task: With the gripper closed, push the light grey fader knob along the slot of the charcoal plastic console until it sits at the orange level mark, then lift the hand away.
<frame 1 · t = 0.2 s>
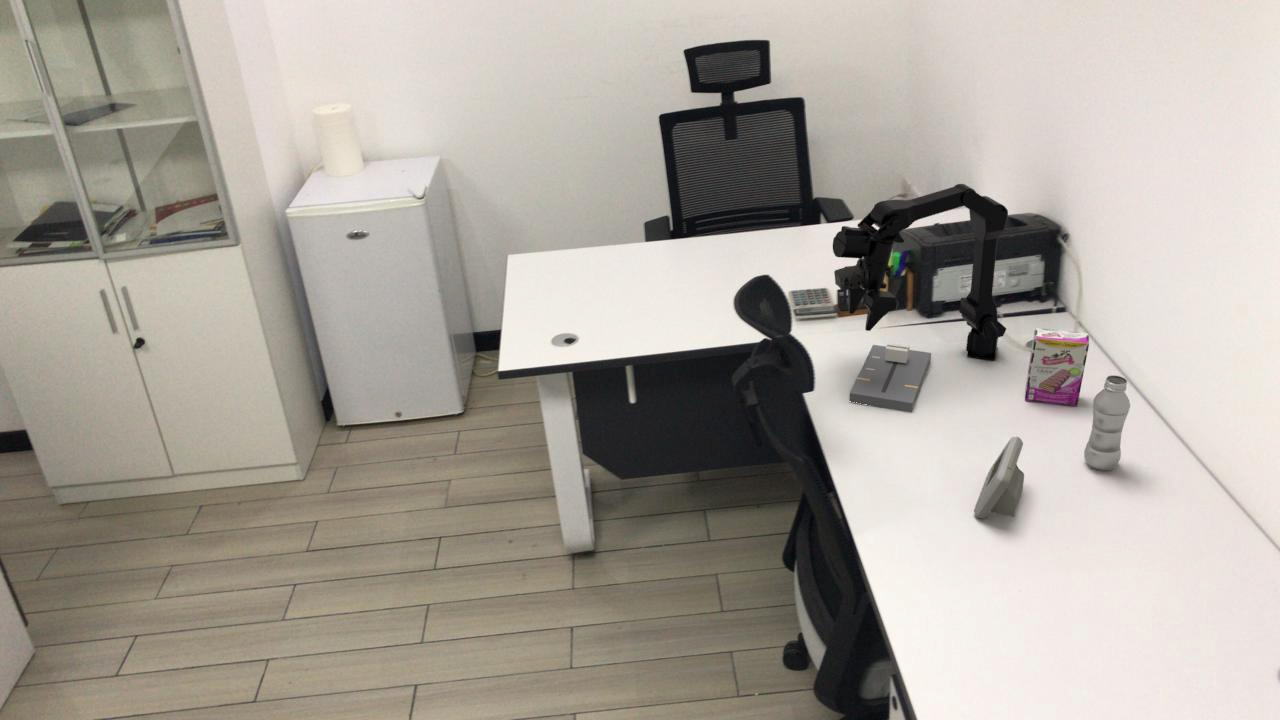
hand: (859, 321, 230), 15 cm above the table, tool pointing down, fingers open, 9 cm apart
fader knob: (897, 352, 237), point 5 cm above the table, slide at -6.0 cm
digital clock: (995, 499, 195), on the table
console: (891, 381, 235), on the table
candy bar box: (1050, 400, 224), on the table
plastic bottle: (1099, 465, 202), on the table
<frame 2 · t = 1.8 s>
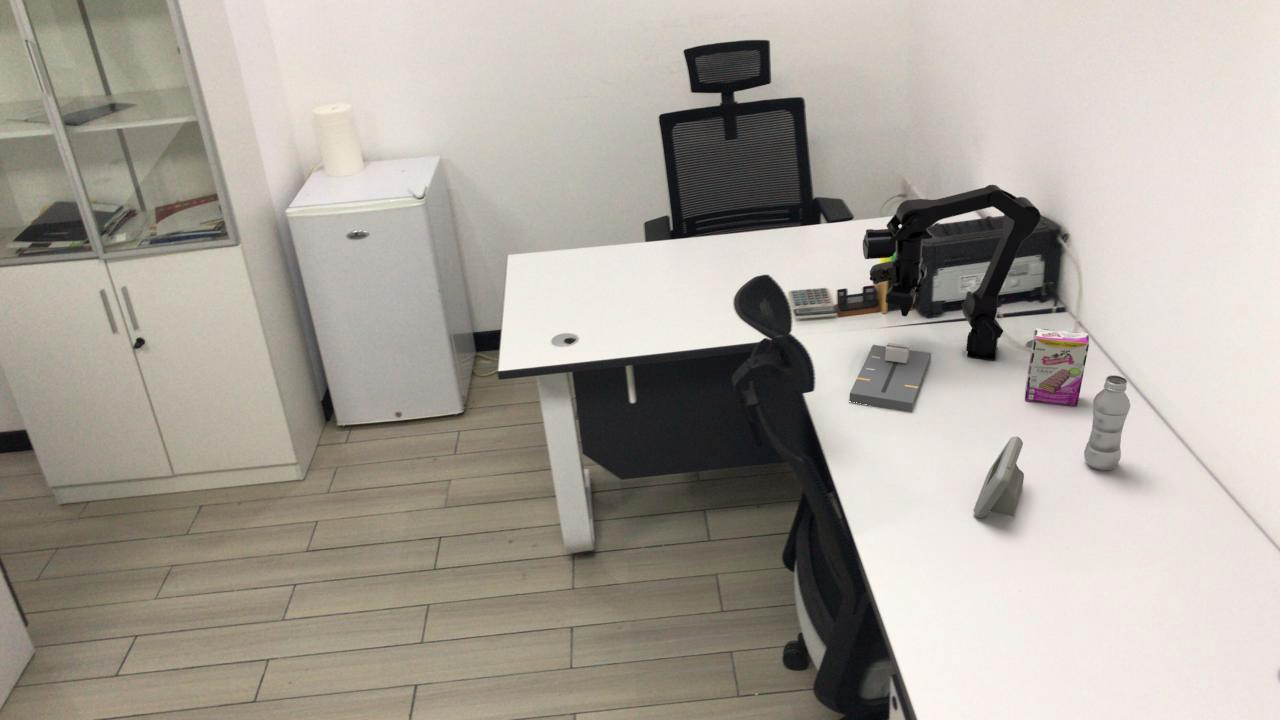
hand: (904, 315, 239), 12 cm above the table, tool pointing down, fingers closed
nothing on the table moved.
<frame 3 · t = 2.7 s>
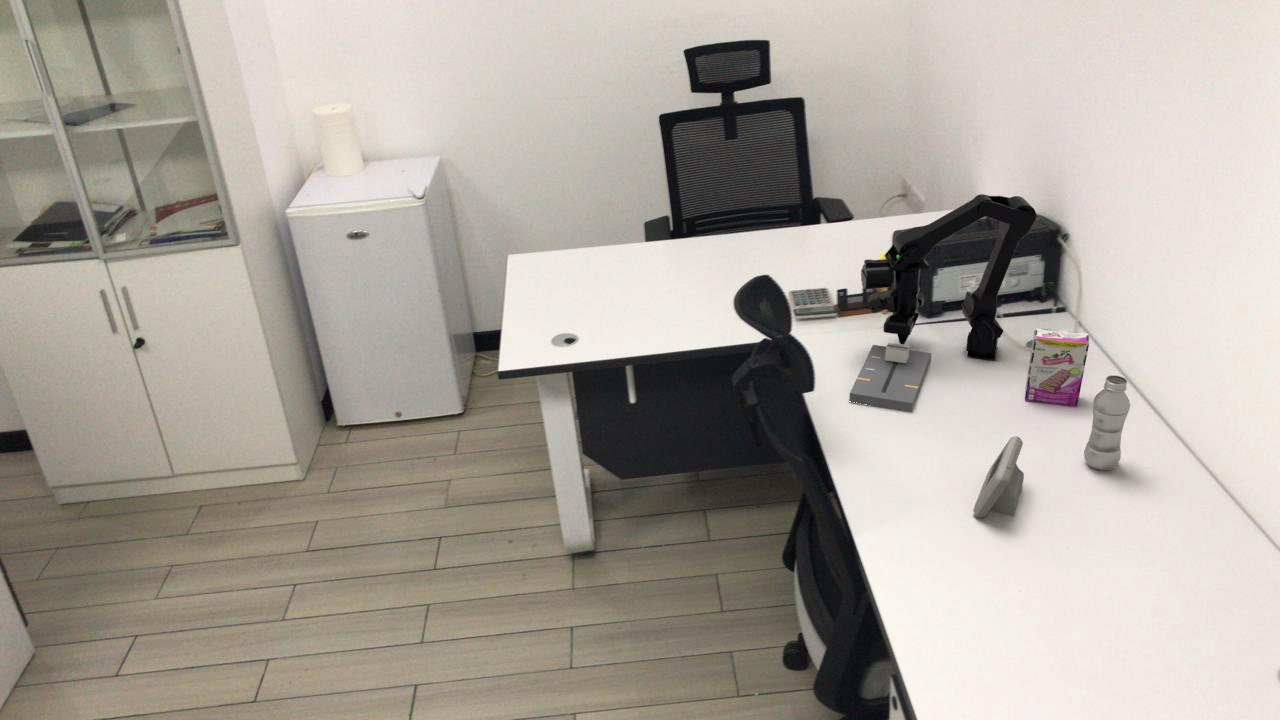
hand: (902, 343, 242), 4 cm above the table, tool pointing down, fingers closed
nothing on the table moved.
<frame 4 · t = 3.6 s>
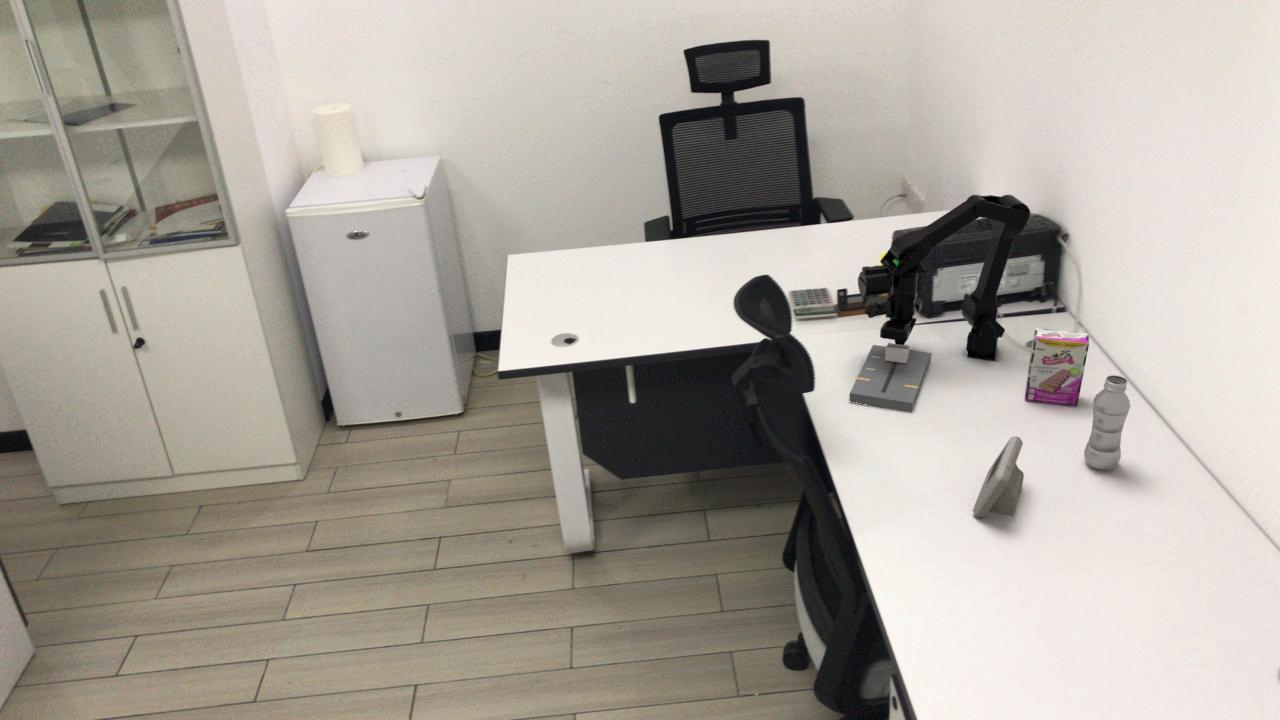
hand: (899, 349, 240), 4 cm above the table, tool pointing down, fingers closed
fader knob: (897, 352, 237), point 5 cm above the table, slide at -6.0 cm, touching gripper
everything else where it was.
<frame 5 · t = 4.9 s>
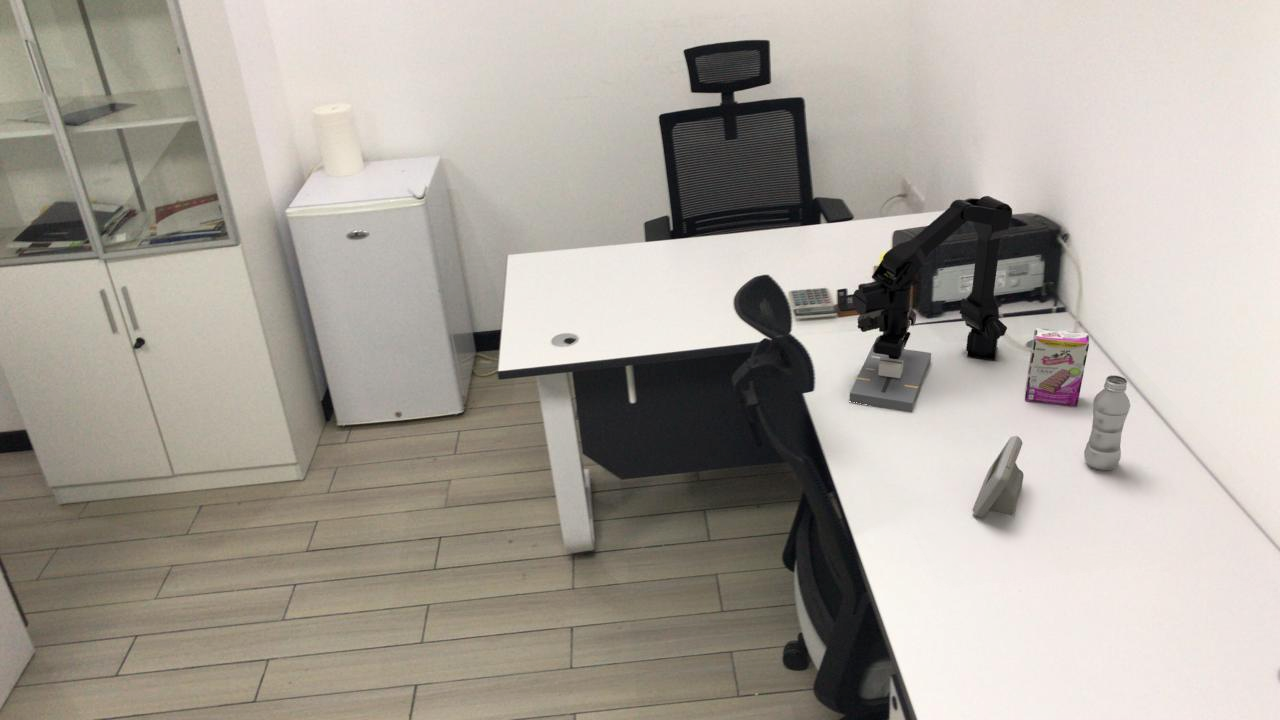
hand: (893, 363, 234), 4 cm above the table, tool pointing down, fingers closed
fader knob: (890, 367, 232), point 5 cm above the table, slide at 1.4 cm, touching gripper
everything else where it was.
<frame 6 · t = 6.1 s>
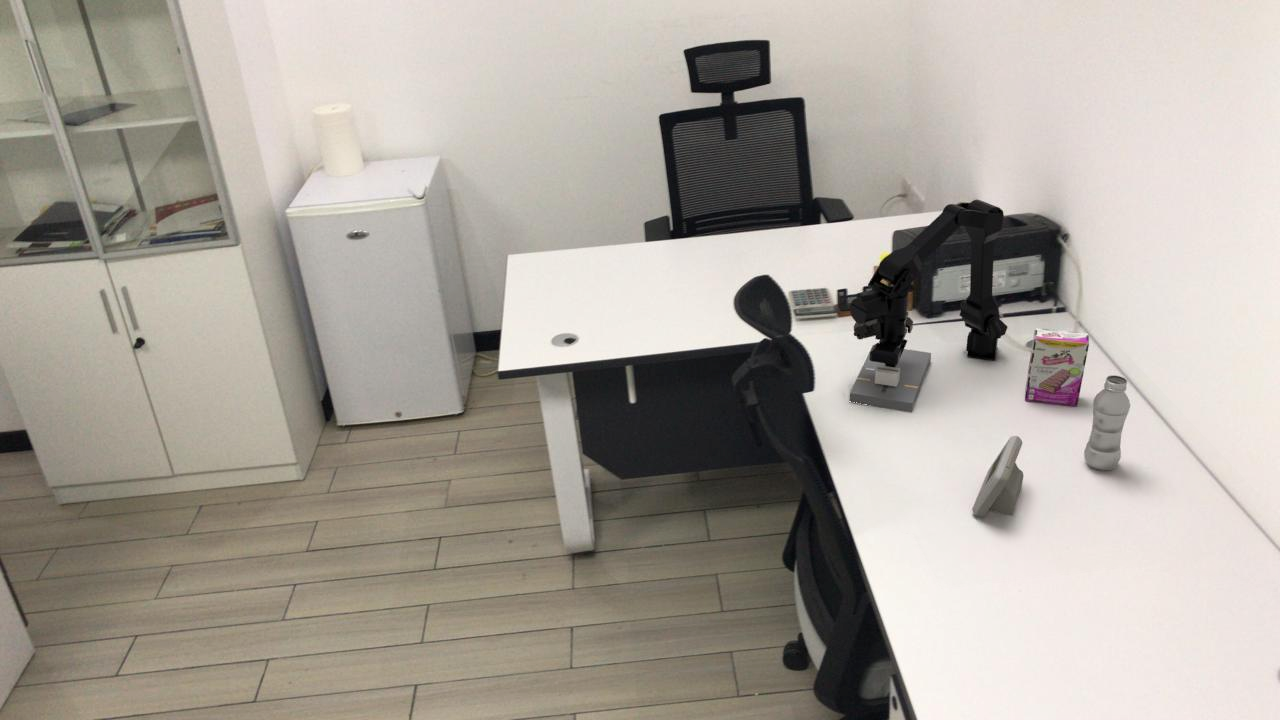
hand: (889, 371, 231), 4 cm above the table, tool pointing down, fingers closed
fader knob: (887, 375, 229), point 5 cm above the table, slide at 5.3 cm, touching gripper
everything else where it was.
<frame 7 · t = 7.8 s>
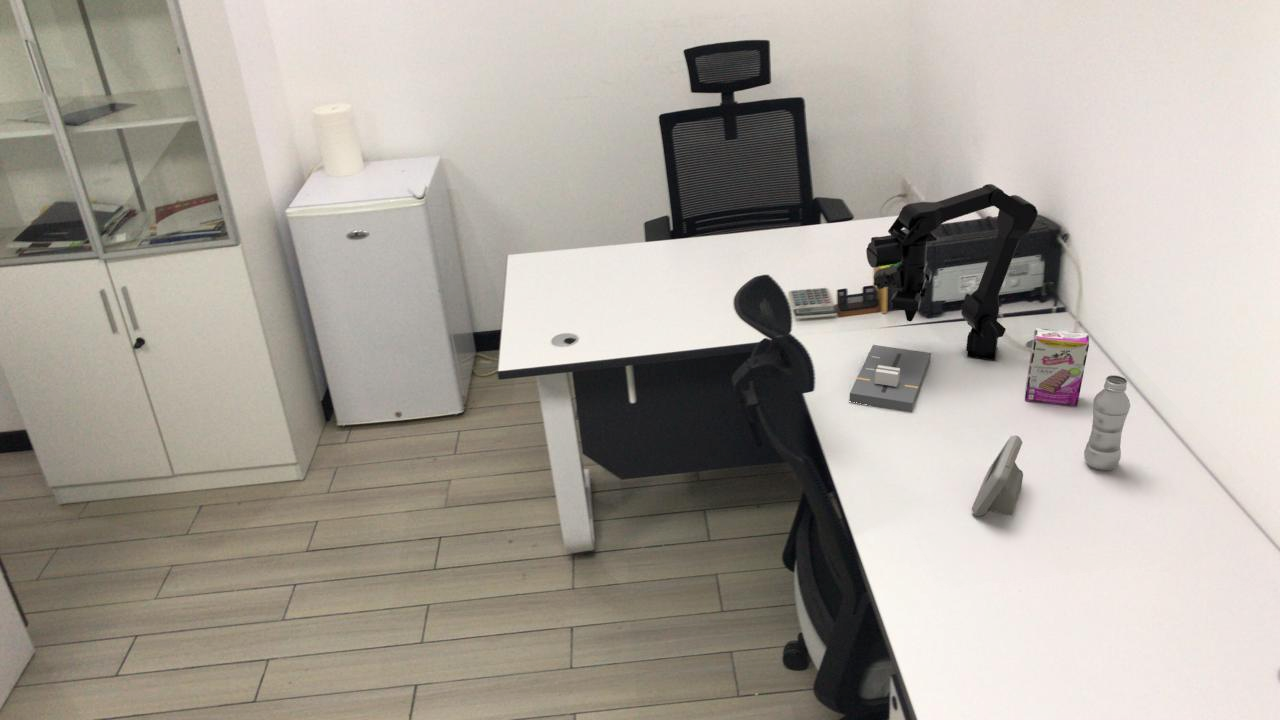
hand: (909, 320, 235), 12 cm above the table, tool pointing down, fingers closed
fader knob: (887, 375, 229), point 5 cm above the table, slide at 5.3 cm
everything else where it was.
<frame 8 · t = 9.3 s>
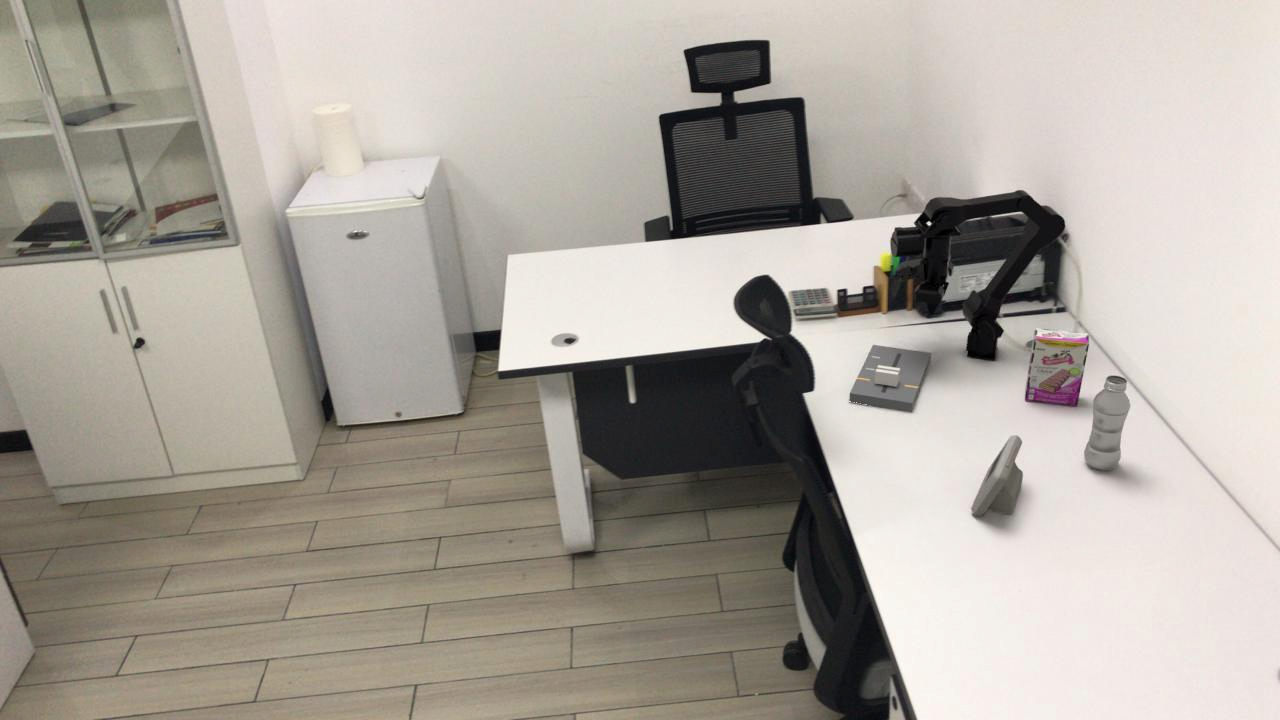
hand: (931, 313, 238), 12 cm above the table, tool pointing down, fingers closed
nothing on the table moved.
at the end: fader knob slide at 5.3 cm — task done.
